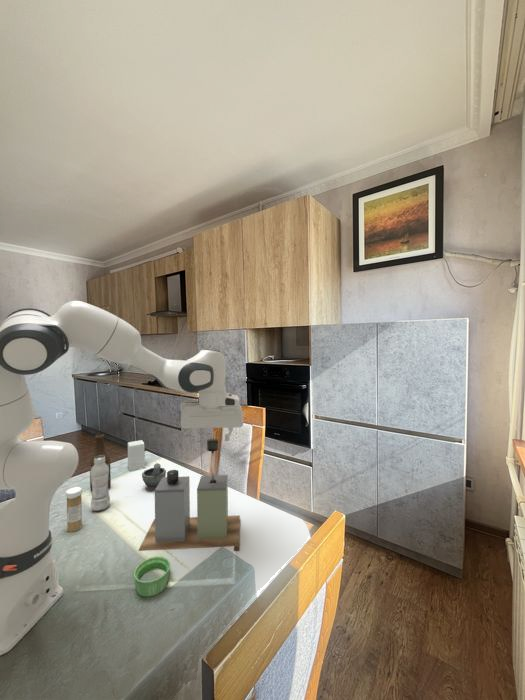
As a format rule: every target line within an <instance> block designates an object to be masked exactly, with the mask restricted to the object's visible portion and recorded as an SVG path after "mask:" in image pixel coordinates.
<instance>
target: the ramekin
mask: <svg viewBox="0 0 525 700" xmlns="http://www.w3.org/2000/svg"><path fill="white" fill-rule="evenodd" d="M156 569H157V570H163V571H164V572H165V573H164V574H163V575H161V576H160V577H158V578H156V579H152V580H147V581H146V580H145V581H144V580H140V578H141V577H142V576H143V575H144V574H146V573H147V572H148V571H152V570H156ZM170 570H171V562H170V560H169V559H168V558H167V557H164V556H161V555H159V556H157V555H156V556H152V557H148V558H146V559H144V560H142V561H141V562H140V563H139V564H137V566H135V568H134V571H133V578H134V583H135V590H136V592H137V594H138V596H139V595H140V596H141V597H147V598H148V597H154V596H155V595H158V594H160V593H161V592H163V591H164V590H165V589H166V588H167V586H168V583H169V576H170Z"/></svg>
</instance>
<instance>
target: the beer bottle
mask: <svg viewBox="0 0 525 700" xmlns="http://www.w3.org/2000/svg"><path fill="white" fill-rule="evenodd" d="M105 437H106V436H105V434H102V433H99V434H96V435H95V436H94V439H95V440H94V441H95V442H94V445H95V446H94V454H93V456H92V457H91V459H90V461H89V472H90V471H91V469H92V467H93V466H94V464H95V463H94V458H95V457H96V456H100V455H104V456H105V463H106V464H107V465H108V467H109V476H108V491H109V490H110V488H111V483H112V482H111V479H112V477H111V459H110V456H109V455H108V454H107V453H106V448H105V446H106V445H105ZM89 487H90V488H89V489H90V492H91V493H92V481H91V476H90V475H89Z"/></svg>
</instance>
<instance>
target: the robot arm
mask: <svg viewBox="0 0 525 700" xmlns="http://www.w3.org/2000/svg"><path fill="white" fill-rule="evenodd" d="M69 348H76V349H79V350H82V351H83V352H86V353H88V354H90V355H93V356H95V357H97V358H99V359H102V360H104V361H105V360H106V361H109V362H112V363H116V364H120V365H130V366H131V367H132V366H133V367H134V368H136V369H138V370H141V371H143V372H145V373H147V374H149V375H151V376H153V378H155V380H156V381H157V382H158V383H159V385H160V386H161V387H163V388H164V389H166V390H172V391H178V392H183V393H189V394H194V393H197V392H198V398H197V399H196V398H194V399H193V398H192V399H190V398H189V399H184V400H183V401H181V402H180V404H179V410H180V412H181V415H180V416H181V417H180V427H181V429H183V430H184V429H186V430H187V429H190V430H191V433H192V434H193V436H194V437H195V442H196V443H200V442H202V441H201V440H202V435H201V434H198V432H197V430H198V429H224V428H225V429H227V431H228V432H227V434H225V435H224V441H225V442H230V438H231V437H230V436H231V434H232V433H233V430H234V428H242V427H243V426H244V414H243V408H242V406H241V404H240V396H239V395H236V394H232V393H230V392H227V389H226V388H227V387H226V383H225V380H226V377H227V376H226V375H227V370H226V360H225V356H224V354H223V352H222V351H220V350H216V349H210V348H204V349H200V350H199V352H198V353H196V354H195V355H194V356H192V357H190V358H188V359H186V360H185V359H184V360H183V359H175V358H164V357H162V356H160V355H158V354H157V353H155V352H153V351H152V350H150V349H148V348H146V347H145V346H144V345H142V337H141V333H140V331H139V330H137V328H135V327H134V326H133V325H131V324H130V323H129V322H127V321H126V320H124V319H122V318H120V317H119V316H117V315H115V314H113V313H112V312H109V311H107V310H105V309H102V308H101V307H98V306H96V305H93V304H91V303H87V302H85V301H81V300H70V301H68V302H66V303H64V304H62V306H60V307H59V308H58V310H57V311H56V312H55V313H54V314H53V315H50V314H49V313H48V312H46V311H44V310H42V309H38V308H32V307H31V308H30V307H28V308H27V307H25V308H21V309H18V310H14V311H13V312H12V313H10V314H8V316H7V317H5V319H4V320H3V321H2V322H1V324H0V491H1V490H2V491H3V490H14V492H15V493H14V494H15V497H14V499H13V500H12V501H10V502H8V503H6V504H4V506H3V507H1V508H0V656H2V655H4V654H6V653H9V651H11V650H12V649H13V648H14V647H15V646H16V645H17V644H18V643H19V642H20V641H21V639H23V637H24V636H25V635H26V634H27V633H28V632H29V631H30V630H31V629H32V628H33V627H34V625H36V623H38V622H39V621H40V620H41V619H42V618H43V616H44V615H45V614H46V613H47V612H48V611H49V610H50V609H51V608H52V607H53V606H54V605H55V603H57V602H58V601H59V599H60V598H61V597H62V596H63V595H64V588H63V587H62V586H61V585H60V581H59V575H58V569H57V562H56V559H55V558H54V555H53V553H52V552H51V551H52V550H51V549H52V547H53V546H52V545H53V543H52V542H53V536H52V531H51V530H50V511H51V510H50V509H51V503H52V501H53V497H54V495H55V494H56V492H57V491H58V490H59V489H60V487H61V486H62V485H63V484H65V483H66V482H67V481H68V480H70V478H72V476H74V474H75V472H76V470H77V468H78V466H79V461H80V460H79V453H78V450H77V448H76V446H75V445H73V443H71V442H67V441H66V442H65V441H61V440H60V441H58V440H32V441H31V440H29V441H25V440H22V439H20V438H19V436H20V435H22V434H23V433H25V432H26V431H28V429H30V427H31V426H32V424H33V423H34V420H35V417H36V412H35V409H34V405H33V401H32V399H31V395H30V391H29V387H28V384H27V381H26V377H25V376H26V375H27V376H28V375H35V374H37V373H40V372H42V371H44V370H47V369H48V368H49V367H51V366H52V365H53V364H54V363H55V362H57V360H59V359H60V358H61V357H62V356H64V355H65V354H67V353H68V351H69V350H70V349H69Z"/></svg>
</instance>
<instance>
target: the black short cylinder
mask: <svg viewBox="0 0 525 700" xmlns="http://www.w3.org/2000/svg"><path fill="white" fill-rule="evenodd" d="M179 475H180V474H179V470H178V469H171V470H170V469H169V470H168V471H166V477H167V483H168V484H171V485H172V484H174V483H177V482H178V481H179V477H180V476H179Z"/></svg>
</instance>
